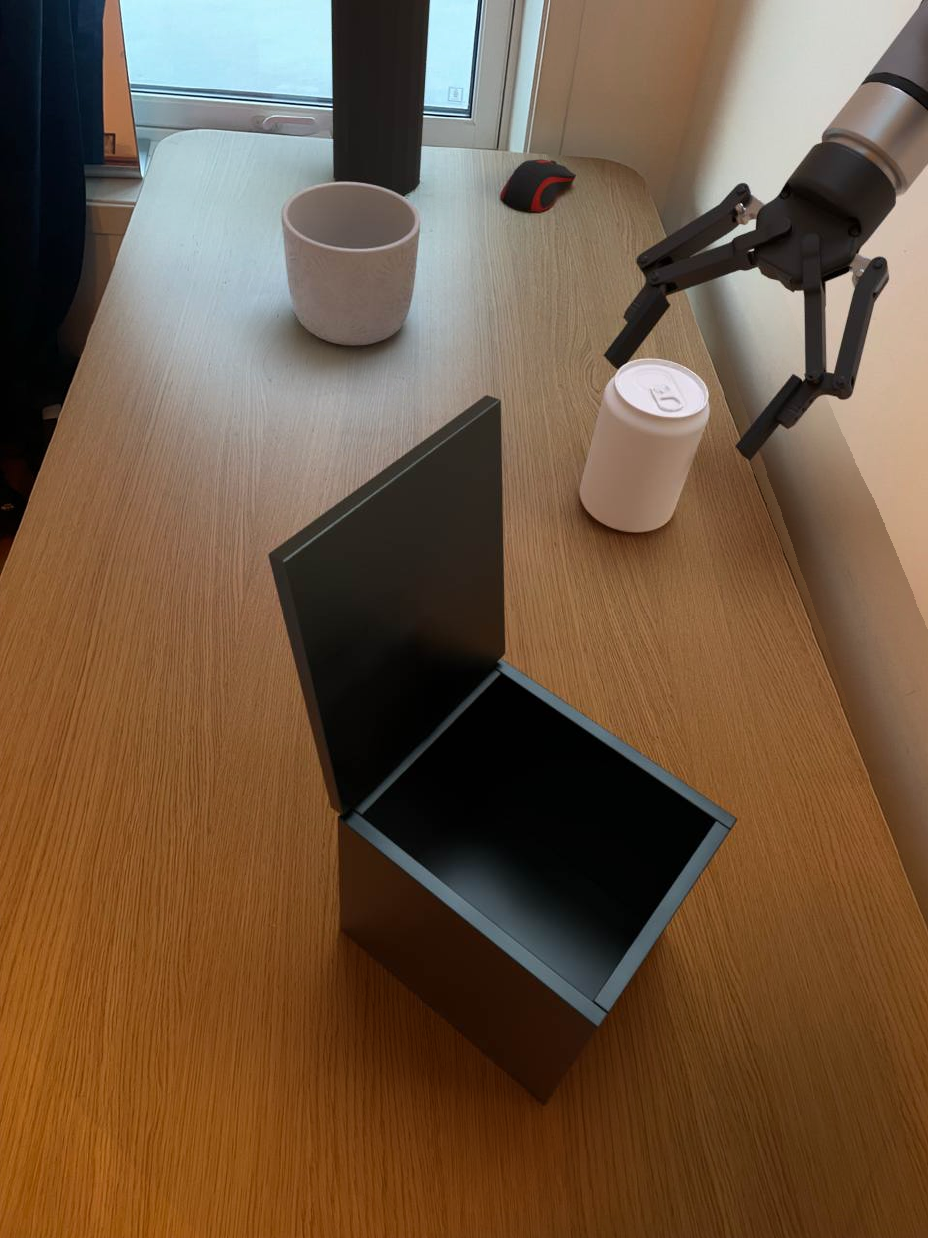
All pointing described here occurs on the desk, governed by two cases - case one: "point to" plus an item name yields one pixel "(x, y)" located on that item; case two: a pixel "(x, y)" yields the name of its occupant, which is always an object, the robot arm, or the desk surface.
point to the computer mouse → (536, 185)
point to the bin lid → (398, 600)
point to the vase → (379, 91)
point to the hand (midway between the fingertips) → (674, 407)
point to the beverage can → (644, 444)
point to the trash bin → (521, 871)
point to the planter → (350, 260)
